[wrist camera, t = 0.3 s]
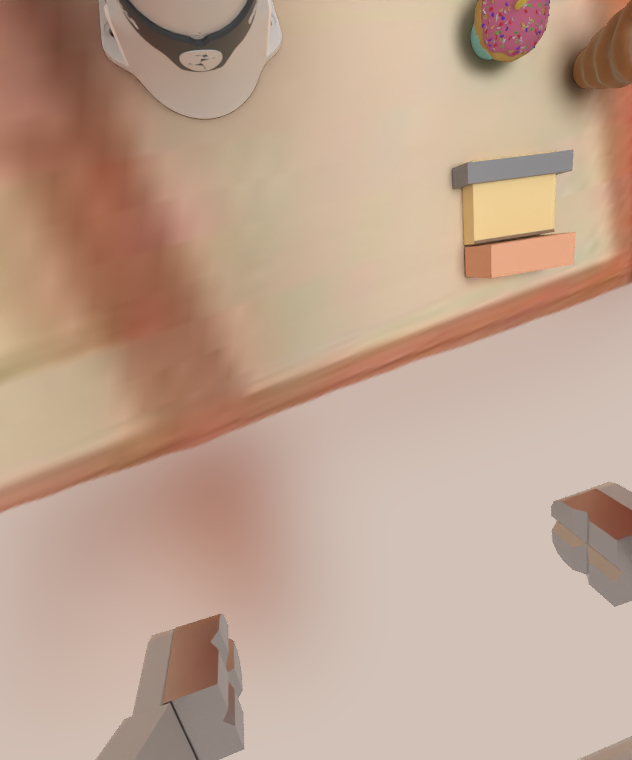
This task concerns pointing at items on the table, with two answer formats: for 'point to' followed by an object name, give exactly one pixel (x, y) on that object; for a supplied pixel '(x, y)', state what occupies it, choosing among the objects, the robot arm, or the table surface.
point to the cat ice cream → (607, 55)
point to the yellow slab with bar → (509, 195)
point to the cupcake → (508, 28)
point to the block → (519, 255)
